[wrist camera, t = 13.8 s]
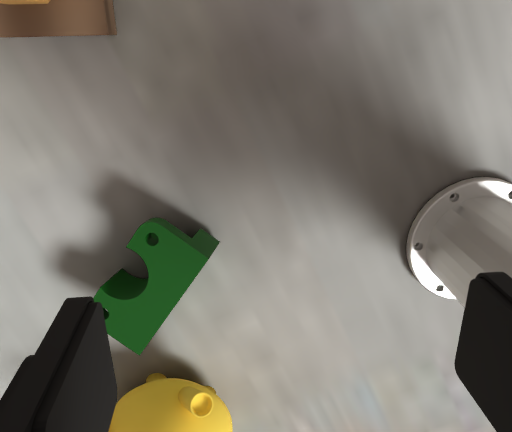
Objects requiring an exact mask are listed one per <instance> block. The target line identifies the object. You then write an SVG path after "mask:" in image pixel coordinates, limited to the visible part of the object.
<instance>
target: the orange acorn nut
mask: <svg viewBox="0 0 512 432" xmlns="http://www.w3.org/2000/svg"><path fill="white" fill-rule="evenodd" d="M49 1H50V0H0V3H2V4H48V3H49Z"/></svg>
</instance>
